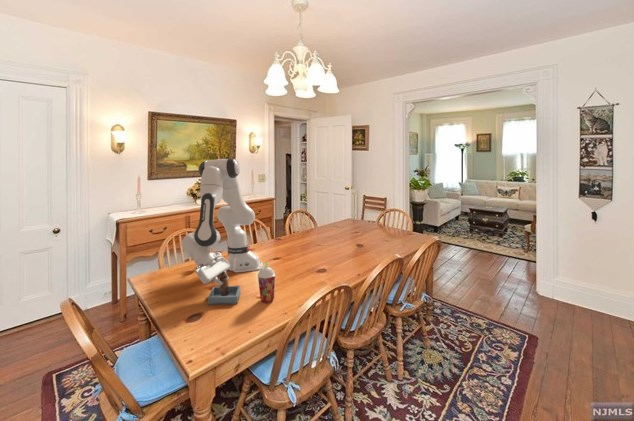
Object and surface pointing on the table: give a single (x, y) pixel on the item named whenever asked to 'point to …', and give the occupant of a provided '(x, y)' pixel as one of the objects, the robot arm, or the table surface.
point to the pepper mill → (224, 284)
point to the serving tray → (217, 299)
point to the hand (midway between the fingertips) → (225, 282)
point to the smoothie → (266, 284)
